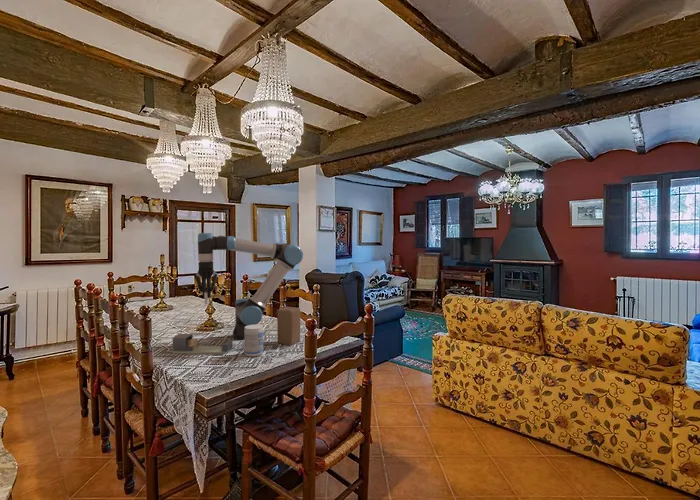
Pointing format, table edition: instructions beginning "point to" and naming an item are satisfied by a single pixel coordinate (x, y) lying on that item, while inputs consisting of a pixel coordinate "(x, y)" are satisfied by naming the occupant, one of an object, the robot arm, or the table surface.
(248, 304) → the robot arm
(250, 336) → the supplement tub
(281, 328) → the wooden block
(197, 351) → the board
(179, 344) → the cap
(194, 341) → the brown block
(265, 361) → the table surface
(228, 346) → the cap
